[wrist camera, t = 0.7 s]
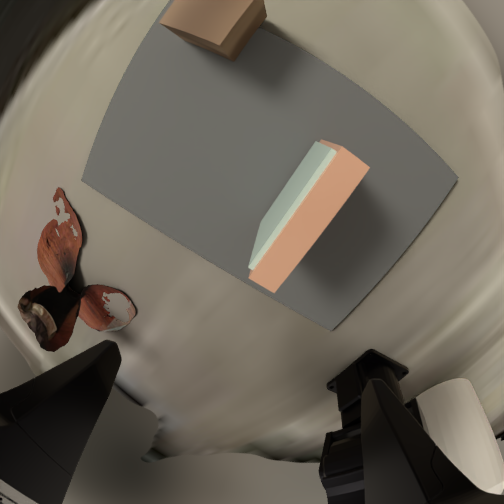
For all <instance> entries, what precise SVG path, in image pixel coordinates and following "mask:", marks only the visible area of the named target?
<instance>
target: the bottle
mask: <svg viewBox="0 0 504 504" xmlns="http://www.w3.org/2000/svg"><path fill="white" fill-rule="evenodd" d="M415 398H416V399H417V401H418V403H419V406H420V408H421V410H422V412H423V415H424V417H425V420H426V423H427V427H428V430H429V434H430V437H431V439H432V440H433V441H434V442H435V443H436V445H437V446H438V447H439V448H440V449H441V451H442V452H443V453H444V454H445V455H446V456H447V458H448V459H449V460H450V461H451V462H452V463H453V464H454V465H455V466H456V467H457V468H458V469H459V470H460V471H461V472H462V473H463V474H464V475H465V476H466V477H467V478H468V479H469V480H470V481H471V482H472V483H473V484H475V485H476V486H477V487H478V488H480V489H481V490H483V491H485V492H488V493H493V494H499V495H501V493H502V491H503V489H504V462H503V459H502V456H501V453H500V450H499V447H498V445H497V442H496V439H495V436H494V434H493V431H492V429H491V426H490V424H489V421H488V419H487V417H486V414H485V412H484V410H483V407H482V405H481V403H480V401H479V399H478V397H477V394H476V392H475V390H474V388H473V386H472V384H471V382H470V381H469V380H468V379H465V378H456V379H451V380H448V381H445V382H442V383H440V384H437V385H435V386H433V387H431V388H429V389H428V390H426V391H424V392H423V393H421V394H420V395H418V396H417V397H415Z"/></svg>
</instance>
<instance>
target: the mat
mask: <svg viewBox="0 0 504 504" xmlns="http://www.w3.org/2000/svg"><path fill="white" fill-rule="evenodd" d="M174 1H175V0H170V1H169V2H168V3H167V5H166V6H165V7H164V9H163V10H162V12H161V13H160V15H159V16H158V17H157V19H156V20H155V22H154V23H153V25H152V27H151V28H150V30H149V31H148V33H147V34H146V36H145V38H144V39H143V41H142V43H141V44H140V46H139V48H138V49H137V51H136V53H135V55H134V56H133V58H132V60H131V62H130V64H129V65H128V67H127V69H126V71H125V73H124V75H123V77H122V79H121V81H120V83H119V85H118V87H117V89H116V91H115V93H114V95H113V97H112V100H111V102H110V104H109V106H108V109H107V111H106V113H105V116H104V118H103V120H102V123H101V125H100V128H99V130H98V133H97V135H96V138H95V141H94V143H93V146H92V149H91V152H90V155H89V158H88V161H87V164H86V167H85V170H84V173H83V176H82V180H81V181H83V182H84V183H86V184H87V185H89V186H90V187H92V188H93V189H95V190H96V191H98V192H99V193H101V194H102V195H104V196H105V197H107V198H109V199H110V200H112V201H113V202H115V203H116V204H118V205H119V206H121V207H122V208H124V209H126V210H127V211H129V212H130V213H132V214H133V215H135V216H137V217H138V218H140V219H141V220H143V221H144V222H146V223H148V224H149V225H151V226H152V227H154V228H156V229H157V230H159V231H160V232H162V233H164V234H165V235H167V236H168V237H170V238H172V239H173V240H175V241H177V242H178V243H180V244H181V245H183V246H185V247H186V248H188V249H190V250H191V251H193V252H195V253H196V254H198V255H199V256H201V257H203V258H204V259H206V260H208V261H209V262H211V263H213V264H214V265H216V266H218V267H219V268H221V269H223V270H224V271H226V272H228V273H230V274H231V275H233V276H235V277H236V278H238V279H240V280H241V281H243V282H245V283H247V284H248V285H250V286H252V287H253V288H255V289H257V290H259V291H260V292H262V293H264V294H265V295H267V296H269V297H271V298H272V299H274V300H276V301H278V302H279V303H281V304H283V305H285V306H286V307H288V308H290V309H292V310H294V311H295V312H297V313H299V314H301V315H302V316H304V317H306V318H308V319H310V320H311V321H313V322H315V323H317V324H319V325H320V326H322V327H324V328H326V329H328V330H329V331H332V330H333V329H334V328H335V327H336V326H337V325H338V324H339V323H340V322H341V321H342V320H343V319H344V318H345V317H346V316H347V315H348V314H349V313H350V312H351V311H352V310H353V309H354V308H355V307H356V306H357V304H358V303H359V302H360V301H361V300H362V299H363V298H364V297H365V296H366V295H367V294H368V293H369V292H370V291H371V289H372V288H373V287H374V286H375V285H376V284H377V283H378V282H379V281H380V279H381V278H382V277H383V276H384V275H385V274H386V273H387V271H388V270H389V269H390V268H391V267H392V266H393V264H394V263H395V262H396V261H397V260H398V258H399V257H400V256H401V255H402V254H403V252H404V251H405V250H406V249H407V247H408V246H409V245H410V244H411V243H412V241H413V240H414V239H415V237H416V236H417V235H418V234H419V232H420V231H421V230H422V228H423V227H424V226H425V224H426V223H427V222H428V220H429V219H430V218H431V216H432V215H433V214H434V212H435V211H436V210H437V208H438V207H439V205H440V204H441V203H442V201H443V200H444V198H445V197H446V195H447V194H448V193H449V191H450V190H451V188H452V187H453V185H454V184H455V182H456V181H457V179H458V178H459V177H458V176H457V175H456V174H455V173H454V172H453V171H452V169H451V168H450V167H449V166H448V165H447V164H446V163H445V162H444V161H443V160H442V158H441V157H440V156H439V155H438V154H437V153H436V152H435V151H434V150H433V149H432V148H431V147H430V146H429V145H428V144H427V143H426V142H425V141H424V140H423V139H422V138H421V137H420V136H419V135H418V134H417V133H415V132H414V131H413V130H412V129H411V128H410V127H409V126H408V125H407V124H406V123H405V122H403V121H402V120H401V119H400V118H399V117H398V116H397V115H395V114H394V113H393V112H392V111H391V110H389V109H388V108H387V107H386V106H385V105H383V104H382V103H381V102H380V101H378V100H377V99H376V98H375V97H373V96H372V95H371V94H369V93H368V92H367V91H365V90H364V89H363V88H361V87H360V86H359V85H357V84H356V83H354V82H353V81H352V80H350V79H349V78H347V77H346V76H344V75H343V74H341V73H340V72H338V71H337V70H335V69H334V68H332V67H331V66H329V65H328V64H326V63H325V62H323V61H321V60H320V59H318V58H316V57H315V56H313V55H311V54H310V53H308V52H306V51H304V50H303V49H301V48H299V47H297V46H296V45H294V44H292V43H290V42H288V41H286V40H284V39H282V38H280V37H278V36H276V35H274V34H272V33H270V32H268V31H266V30H264V29H262V28H260V27H259V28H258V29H257V30H256V32H255V33H254V34H253V36H252V37H251V38H250V40H249V41H248V43H247V44H246V45H245V47H244V48H243V50H242V51H241V53H240V54H239V55H238V57H237V58H236V60H235V61H234V62H233V61H231V60H229V59H227V58H225V57H223V56H220V55H218V54H216V53H214V52H211V51H209V50H207V49H204V48H202V47H200V46H197V45H195V44H192V43H190V42H187V41H184V40H183V39H181V38H180V37H178V36H177V35H176V34H174V33H173V32H171V31H170V30H168V29H167V28H166V27H164V26H163V25H161V24H160V23H159V22H160V20H161V19H162V17H163V16H164V14H165V13H166V12H167V10H168V9H169V7H170V6H171V5H172V3H173V2H174ZM321 139H322V140H325V141H328V142H331V143H334V144H337V145H340V146H343V147H344V148H345V149H347V150H348V151H349V152H351V153H352V154H353V155H355V156H356V157H357V158H359V159H360V160H361V161H362V162H364V163H365V164H366V165H368V166H369V167H370V168H369V170H368V171H367V173H366V174H365V175H364V177H363V178H362V180H361V181H360V182H359V184H358V185H357V186H356V188H355V189H354V191H353V192H352V193H351V195H350V196H349V197H348V199H347V200H346V202H345V203H344V204H343V206H342V207H341V208H340V210H339V211H338V212H337V214H336V215H335V216H334V218H333V219H332V220H331V222H330V223H329V224H328V226H327V227H326V228H325V229H324V231H323V232H322V233H321V235H320V236H319V237H318V239H317V240H316V241H315V243H314V244H313V245H312V246H311V248H310V249H309V250H308V252H307V253H306V254H305V255H304V257H303V258H302V259H301V260H300V262H299V263H298V264H297V266H296V267H295V268H294V269H293V271H292V272H291V273H290V274H289V276H288V277H287V278H286V279H285V281H284V282H283V283H282V284H281V286H280V287H279V288H278V289H277V290H276V292H275V293H273V292H271V291H269V290H268V289H266V288H264V287H263V286H261V285H259V284H257V283H256V282H254V281H252V280H251V279H249V274H250V270H251V269H250V268H248V266H249V262H250V259H251V255H252V251H253V248H254V244H255V241H256V237H257V233H258V230H259V226H260V223H261V221H262V219H263V218H264V216H265V215H266V213H267V212H268V210H269V209H270V207H271V206H272V204H273V203H274V201H275V200H276V199H277V197H278V196H279V194H280V193H281V191H282V190H283V188H284V187H285V185H286V184H287V182H288V181H289V179H290V178H291V176H292V175H293V174H294V172H295V171H296V169H297V168H298V166H299V165H300V163H301V162H302V160H303V159H304V157H305V156H306V155H307V153H308V152H309V150H310V149H311V147H312V146H313V144H314V143H315V141H317V142H320V140H321Z"/></svg>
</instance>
